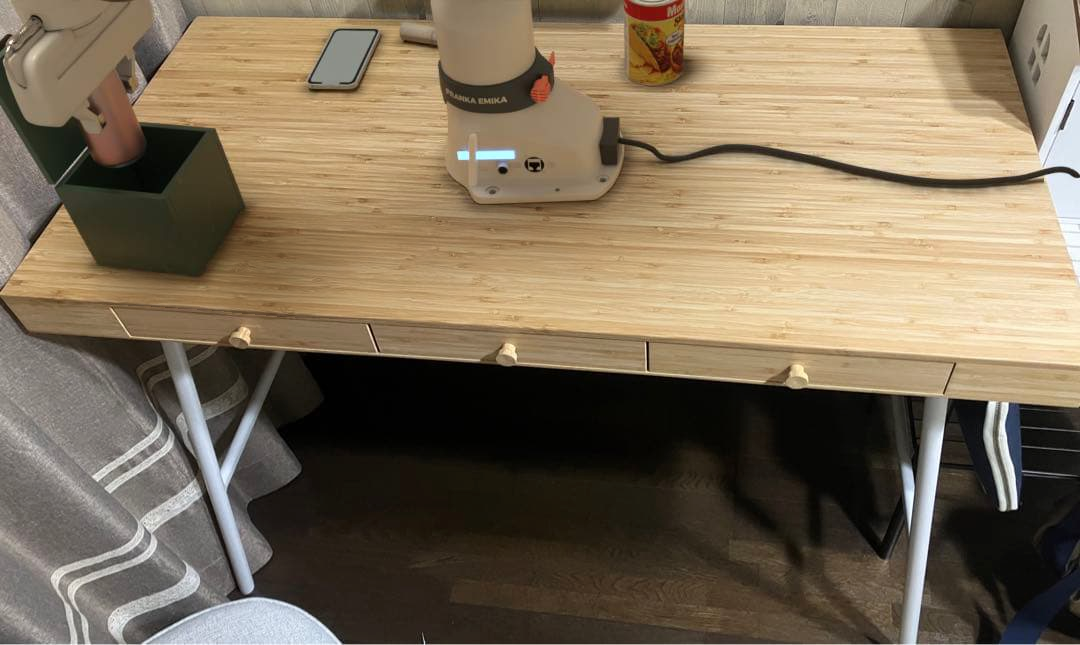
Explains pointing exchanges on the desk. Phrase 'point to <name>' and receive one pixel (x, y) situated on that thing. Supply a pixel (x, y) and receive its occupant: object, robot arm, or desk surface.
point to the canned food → (654, 40)
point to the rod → (418, 33)
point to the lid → (41, 132)
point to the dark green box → (156, 202)
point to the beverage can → (114, 126)
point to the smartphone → (344, 58)
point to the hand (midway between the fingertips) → (114, 109)
